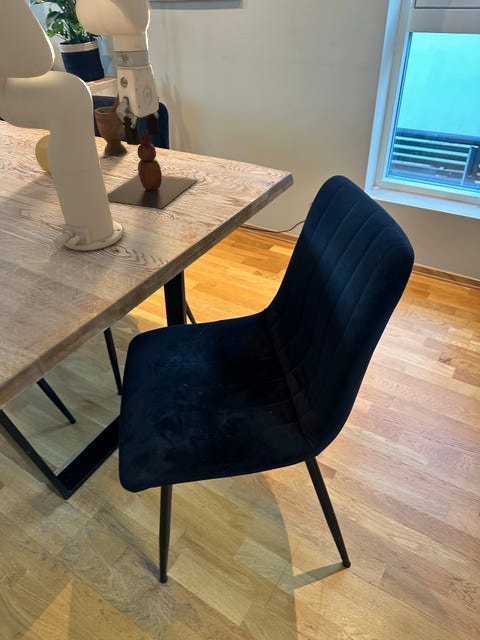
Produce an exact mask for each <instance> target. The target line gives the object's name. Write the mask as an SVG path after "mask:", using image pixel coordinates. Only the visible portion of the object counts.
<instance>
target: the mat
mask: <svg viewBox="0 0 480 640" xmlns="http://www.w3.org/2000/svg"><path fill="white" fill-rule="evenodd" d="M195 183H197V180H196V179H191V178H190V179H189V178H180V177H172V176H165V175H162V181H161V186H160V187H159V188H158V189H156V190H147V189H145V188H144V187H143V186H142V183H141V181H140V178H139V174H137V175H136V176H134V177H133V178H131V179H129V180H128V181H126V182H125V183H123V184H122V185H120V186H119V187H117V188H115V189H114V190H113V191H111V192H109V193H107V197H108V201H109V203H116V204H124V205H131V206H138V207H144V208H150V209H158V210H163V209H164V208H165V207H167V206H168V205H169V204H170V203H172V201H174V200H175V199H177V197H179V196H180V195H182V193H184V192H185V191H187V189H189V188H190V187H191V186H192V185H194V184H195Z"/></svg>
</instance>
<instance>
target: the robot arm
mask: <svg viewBox="0 0 480 640" xmlns="http://www.w3.org/2000/svg"><path fill="white" fill-rule="evenodd" d="M150 13H151V12H150V8H149V4H148V1H147V0H76V3H75V15H76V18H77V21H78V23H79V25H80V26H81V27H82V28H83V29H84V30H85V31H86V32H87V33H89V34H92V35H95V36H111V40H112V45H113V52H114V59H115V64H116V74H117V75H116V76H117V89H118V90H117V91H119V99H120V104H119V106H118V107H117V109H116V113H117V115H118V117H119V120H120V122H121V123H122V126H123V127H124V129H125V130H124V136H125V141H126V144H127V146H139V145H140V139H139V131H138V127H137V126H136V124H137V119H138V118H139V119H140V118H144V117H145V124H146V125H145V126H146V131H147V130H148V132H149V136H156V137H158V136H159V135H160V126H159V113H158V112H159V109H160V107H159V104H160V103H159V102H160V97H159V96H158V92H157V85H156V79H155V76H154V72H153V69H152V65H151V62H150V53H149V45H148V43H149V42H148V36H147V29H148V28H149V26H150V21H151V20H150V19H151V16H150ZM54 62H55V53H54V49H53V46H52V43H51V41H50V39H49V37H48V36H47V33H46V32H45V30H44V28H43V26H42V25H41V23H40V21H39V20H38V18H37V16H36V14H35V13H34V10H33V9H32V7H31V6H30V4H29V2H28V1H27V0H0V118H1V119H2V120H3V121H5V122H6V123H7V124H8V125H11V126H13V127H16V128H21V129H29V130H30V129H31V130H42V131H43V130H44V131H48V132H49V134H50V138H49V142H48V145H47V150H46V157H47V162H48V166H49V169H50V172H51V174H50V175H51V178H52V181H53V185H54V188H55V192H56V196H57V198H58V202H59V205H60V210H61V212H62V216H63V218H64V223H65V224H63V225H62V229H63V231H62V233H61V235H59V236H56V238H54V239H53V241H52V244H53V245H54V247H55V248H57V249H61V248H62V247H67V248H68V249H71V250H75V251H83V252H85V251H95V250H100V249H103V248H107V247H109V246H112V245H114V244H115V243H117V242H118V241H119V240H121V238H122V237H123V228H122V226H121V224H119V223H118V222H115V221H114V220H113V215H112V210H111V206H110V202H109V201H108V197H107V195H108V192H107V188H106V184H105V178H104V175H103V171H102V165H101V162H100V157H99V152H98V148H97V147H98V146H97V142H96V134H95V123H94V102H93V97H92V93H91V91H90V88H89V87H88V85H87V84H86V83H85V81H84V80H83V79H81V78H80V77H78V76H77V75H75V74H73V73H71V72H66V71H61V70H60V71H59V70H52V68H53V66H54ZM130 119H131V120H130Z"/></svg>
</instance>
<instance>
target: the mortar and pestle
mask: <svg viewBox="0 0 480 640" xmlns="http://www.w3.org/2000/svg"><path fill="white" fill-rule="evenodd" d="M117 91H118V90H117ZM119 104H120V99H119V91H118V92H117V95H116V98H115V101H114V104H113V106H103V107H102V106H101V107H97V108H96V109H93V114H94V116H95V121H96V127H97V129H98V132H99V134H100V136H101V138H102V139H103V140H104V141H105V142H106V146H105V147H104V149H103V150H104V151H103V153H104V155H105V156H109V157H116V156H121V155H124V154H127V153H128V150H127V147H126V146H125V144H123V143H122V138H124V136H125V129H124V127H123V126H122V123H121V122H120V120H119V117H118V115H117V113H116V109H117V107H118V106H119Z"/></svg>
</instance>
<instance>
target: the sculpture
mask: <svg viewBox="0 0 480 640" xmlns="http://www.w3.org/2000/svg"><path fill="white" fill-rule="evenodd" d="M49 138H50V133H49V134H46V135H43V136H42V137H41V138H40V139H38V141H37V142H36V144H35V148H34V153H35V154H34V155H35V159H36V161H37V164H38V165H39V167H40V168H41V169H42V170H43V171H44V172H46V173H47V174H50V175H51V172H50V169H49V166H48V162H47V157H46V150H47V145H48V142H49Z"/></svg>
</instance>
